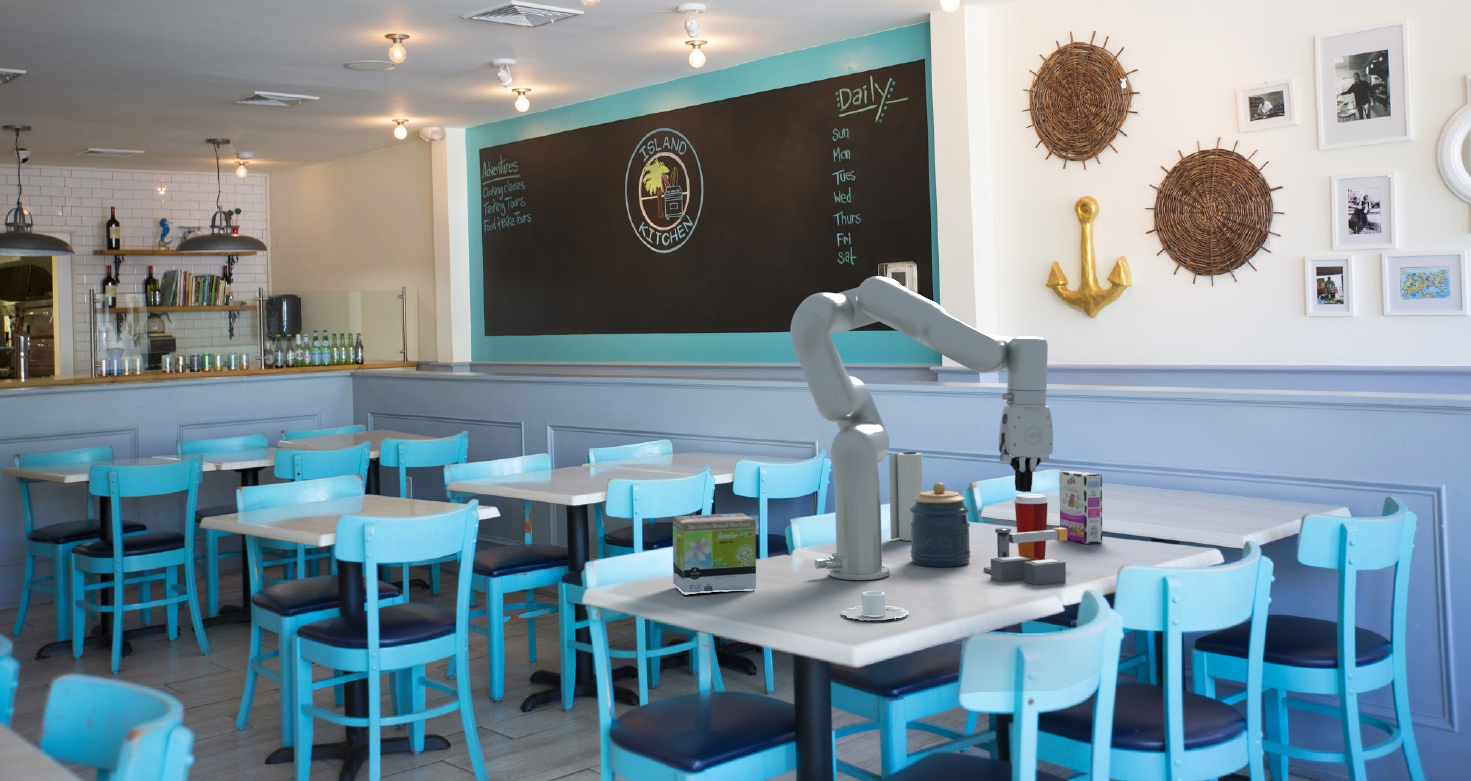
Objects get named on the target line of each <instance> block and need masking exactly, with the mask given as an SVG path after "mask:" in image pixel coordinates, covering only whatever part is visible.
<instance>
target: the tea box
mask: <svg viewBox="0 0 1471 781" xmlns="http://www.w3.org/2000/svg"><path fill="white" fill-rule="evenodd" d="M756 525H757V524H756V519H754V518H752V517H750V516H748V515H746V514H745V513H743V512H740V513H717V514H715V513H714V514H698V515H697V514H696V515H680V516H677V515H676V516H673V517H672V561H673V562H672V571H673V572H672V577H673V579H672V581H673V582H672V583H673V584H675V585H676V586H677V587H679V588H680V589H681V590H682V591H683V592H700V591H714V590H744V589H756V590H757V552H756V551H757V549H756V548H757V546H756V543H757V542H756V540H757V538H756V537H757V536H756V534H757V531H756V529H757V528H756Z"/></svg>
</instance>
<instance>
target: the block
mask: <svg viewBox="0 0 1471 781" xmlns="http://www.w3.org/2000/svg"><path fill="white" fill-rule="evenodd" d="M1029 561H1031V559H1029V558H1026V557H1022V556H1019V555H1014V556H1013V555H1012V556H1009V557H1001V558H998V557H995V558H990V567H991V573H990V579H992V580H995V581H999V582H1001V583H1002V582H1003V583H1005V582H1011V581H1012V582H1013V581H1021V580H1022V581H1023V580H1024V562H1029Z"/></svg>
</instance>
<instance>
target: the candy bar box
mask: <svg viewBox="0 0 1471 781" xmlns="http://www.w3.org/2000/svg"><path fill="white" fill-rule="evenodd" d="M1058 473H1059V527H1061V528H1065V529H1067V540H1066V541H1072V542H1075V543H1080V544H1084V545H1093V544H1095V545H1096V544H1102V543H1103V474H1099V473H1095V472H1087V471H1081V470H1062V471H1059V472H1058Z"/></svg>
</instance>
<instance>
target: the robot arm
mask: <svg viewBox="0 0 1471 781" xmlns="http://www.w3.org/2000/svg"><path fill="white" fill-rule="evenodd" d="M877 322H880V323H882V324H884V325H885V326H887V327H890V328H892V329H894V330H896V331H899V332H900V333H901V334H903V335H905V336H907V337H910V338H911V339H912V340H915V341H917V342H919V343H920V344H922V345H924V346H925V347H927V348H929V349H932V350H933V351H935V352H937V353H939V354H940V355H942V356H944V357H946V358H948V359H949V360H952V361H953V362H956V363H957V364H959V365H961V366H963V367H965V368H967V369H969V370H971V371H974V372H976V373H980V374H989V373H995V372H1003V371H1007V389H1006V393H1005V392H1004V393H1002V396H1001V398H1002V400H1003V401H1006V405H1003V409H1002V413H1001V418H1000V425H999V435H998V452H999V453H1000V455H999V461H1000V462H1004V463H1007V464H1009V465H1010V466H1011V467H1012V470H1013V471H1014V473H1015V474H1014V486H1015V488H1014V489H1015V491H1018V492H1022V493H1031V492H1032V487H1033V474H1034V473H1033V472H1035V471H1036V468H1037V467H1038V465H1040V464H1041V463H1045V462H1048V461H1049V459H1050V456H1051V455H1052V454H1053V451H1054V431H1053V430H1054V429H1053V418H1052V412H1051V408H1050V406H1047V383H1048V382H1047V377H1048V356H1049V355H1048V348H1049V344H1048V342H1047V340H1046V339H1045V338H1043V337H1041V336H1040V337H1039V336H1015V337H1011V336H1004V335H1003V336H1001V335H997V334H987V333H984V332H982V331H980V330H978V329H976V328H974V327H972V326H970V325H968V324H967V323H966V324H965V322H962V321H961V320H958V319H957V318H955V317H953V316H952V315H951V314H949V313H947V312H946V310H945V309H944V308H943V306H940V305H939V304H938V303H937V302H935V301H932V300H930V299H928V298H926V297H924V296H922V295H921V294H918V293H916V292H914V291H912V290H909V289H907V288H906V287H904V286H902V285H901V283H900V282H898V281H897V280H895V279H894V278H891V277H885V276H877V275H874V276H871V277H870V276H869V277H868V278H866V279H865V280H864V281H862V282H861V283H860V285H859V286H858V287H855V288H854V287H853V288H851V289H847V290H844V291H841V292H838V293H833V292H817V293H814V294H811V295H809V296H808V297H806V298H805V299H803V301H802V302H801V303H800V304H799V305H798V307H797V308H796V310H795V312H794V313H793V317H792V319H791V323H790V340H791V344H792V348H793V351H794V353H795V356H796V358H797V361H798V363H799V365H800V368H801V370H802V373H803V376H804V379H805V380H806V383H807V386H808V388H809V390H810V392H811V393H810V394H811V395H812V398H813V400H814V403H815V405H816V408H817V410H818V412H819V414H820V415H821V417H823V418H824V419H825V420H827V421H828V422H832V423H833V422H834V423H837V424H836V425H837V426H838V429H839V432H837V434H836V435H835V436H834V437H833V439H832V440H833V441H832V444H831V448H830V457H831V459H830V460H831V465H832V466H831V467H832V471H833V472H832V473H833V480H834V481H833V482H834V484H833V485H834V486H833V487H834V508H835V510H834V511H835V514H834V516H835V517H834V518H835V552H834V553H833V552H832V553H831V556H829V557H828V558H818V559H815V560H814V568H815V569H818V570H819V569H820V570H821V569H826V570H829V576H830V577H832V578H835V579H840V580H849V581H868V580H869V581H871V580H872V581H873V580H878V579H883V578H887V577H889V576H890V569H889V567H887V566H885V565H883V549H882V548H883V546H882V541H883V540H882V506H881V505H882V503H881V499H882V498H881V483H880V482H881V481H880V475H879V468H878V467H879V466H878V464H879V463H880V462H882V461H883V460H884V459H885V458H886V457H887V454H888V452H889V450H890V437H889V434H888V431H887V428H886V427H885V424H884V422H883V419H882V417H881V414H880V412H879V410H878V407H877V405H876V403H875V401H874V398H873V396H872V394H871V392H870V390H869V388H868V387H867V385H866V384H865V383H864V382H863V381H862V380H861V379H859V378H857V377H855V376H852V375H849V374H848V372H847V370H846V368H845V365H844V364H843V361H842V360H843V359H842V357H841V356H840V353H839V352H838V349H837V348H836V346H835V344H834V342H833V340H832V336H831V334H838V333H844V332H848V331H851V330H855V329H857V328H861V327H864V326H867V325H872V324H874V323H877Z"/></svg>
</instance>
